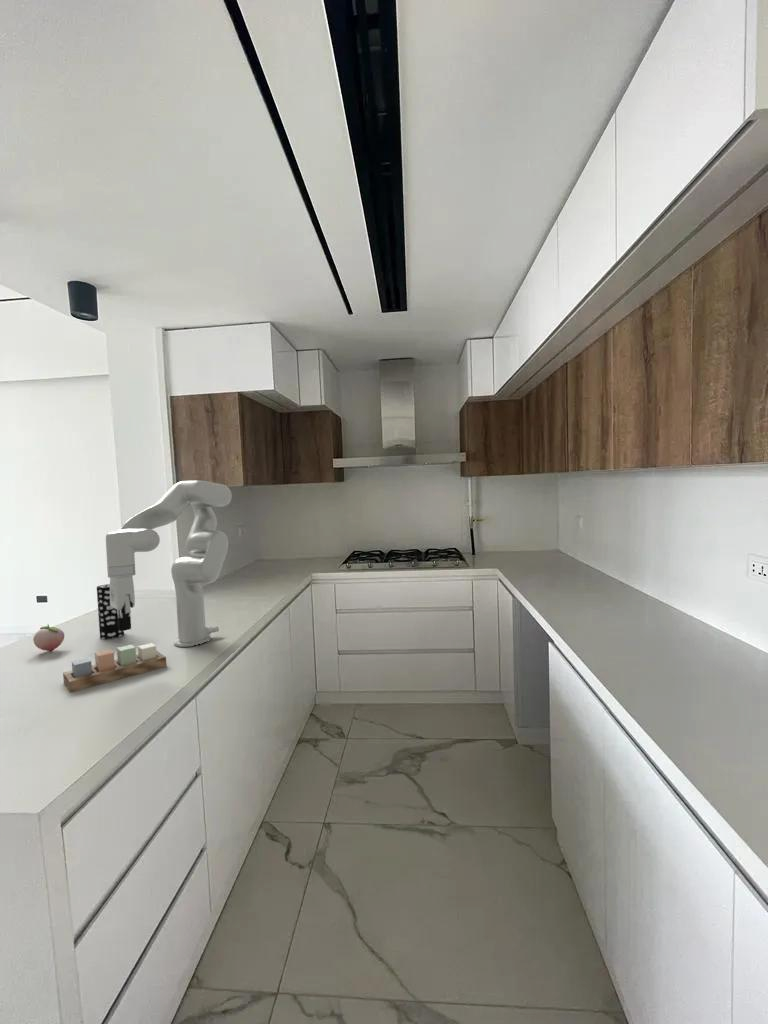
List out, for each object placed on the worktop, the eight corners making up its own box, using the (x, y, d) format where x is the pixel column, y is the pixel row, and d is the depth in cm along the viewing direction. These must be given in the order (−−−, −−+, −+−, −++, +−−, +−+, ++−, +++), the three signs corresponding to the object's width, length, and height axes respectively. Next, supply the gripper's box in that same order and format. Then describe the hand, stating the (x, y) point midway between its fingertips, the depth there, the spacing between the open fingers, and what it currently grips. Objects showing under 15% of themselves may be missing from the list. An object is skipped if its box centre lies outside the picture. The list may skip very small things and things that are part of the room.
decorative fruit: (27, 655, 167) (25, 627, 166) (49, 647, 175) (47, 621, 174) (49, 656, 165) (47, 628, 164) (70, 648, 173) (68, 621, 172)
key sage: (132, 659, 151) (131, 644, 151) (136, 663, 148) (135, 647, 147) (117, 663, 148) (116, 647, 148) (121, 667, 145) (120, 650, 145)
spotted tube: (94, 638, 184) (91, 587, 183) (112, 632, 192) (109, 583, 191) (111, 639, 182) (108, 588, 181) (129, 633, 190) (125, 583, 189)
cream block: (152, 658, 155) (151, 642, 155) (157, 661, 152) (156, 645, 152) (138, 661, 152) (137, 646, 152) (142, 664, 149) (141, 649, 149)
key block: (156, 658, 158) (155, 649, 158) (166, 666, 151) (166, 657, 151) (63, 682, 141) (63, 672, 141) (70, 692, 133) (69, 681, 133)
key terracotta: (111, 665, 147) (110, 649, 146) (114, 668, 144) (113, 652, 143) (95, 669, 144) (94, 652, 144) (99, 672, 141) (98, 656, 141)
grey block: (89, 674, 143) (88, 657, 142) (92, 677, 140) (91, 661, 139) (72, 678, 140) (71, 661, 140) (75, 682, 137) (74, 665, 137)
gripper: (101, 570, 149) (105, 628, 150) (114, 575, 138) (117, 637, 139) (128, 567, 154) (131, 623, 155) (142, 571, 144) (145, 631, 144)
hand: (124, 629), depth 147 cm, fingers closed
